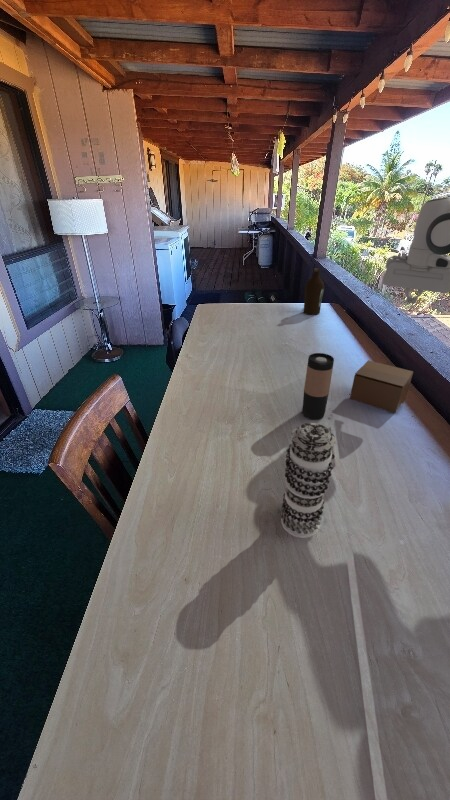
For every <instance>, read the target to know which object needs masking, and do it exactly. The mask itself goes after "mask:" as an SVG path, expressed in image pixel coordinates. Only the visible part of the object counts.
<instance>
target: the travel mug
mask: <svg viewBox="0 0 450 800" xmlns="http://www.w3.org/2000/svg"><path fill="white" fill-rule="evenodd" d="M334 364H335V357H333V356H332V355H331V354H328V353H323V352H315V353H310V355H309V356H308V360H307V365H306V373H305V380H304V386H303V387H304V388H303V397H302V409H301V413H302V415H303V417H305V418H306V419H309V420H312V421H317V420H318V421H319V420H321V419H324V417H325V414H326V409H327V404H328V399H329V395H330V389H331V383H332V376H333V368H334Z"/></svg>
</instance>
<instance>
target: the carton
mask: <svg viewBox="0 0 450 800" xmlns="http://www.w3.org/2000/svg"><path fill="white" fill-rule="evenodd" d="M413 375H414V372H413V373H412V375H411V376H410V378H409V379H407V378H403V377H400V376H396V375H392V374H388V373H384V372H380V371H377V370H373V369H369V368H365V367H362V366H361V367H360V368H359V369H358V370H357V371H356V372H355V373H354V376H353V381H352V385H351V391H350V396H349V400H352V401H356V402H358V403H362V404H365V405H368V406H370V407H371V406H372V407H373V408H374V407H375V408H377V409H380V410H384V411H388V412H391V413H393V414H396V413H397V411H398V410H399V409H400V407H401V405H403V404H404V403H405V401H406V399H407V395H408V392H409V388H410V385H411V382H412V378H413Z"/></svg>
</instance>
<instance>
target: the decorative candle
mask: <svg viewBox="0 0 450 800" xmlns="http://www.w3.org/2000/svg"><path fill="white" fill-rule="evenodd" d="M336 442H337V439H336V436H335V435H334V433H333V432H332V431H331V430H329V428H327V427H326V426H324V425H323V424H320V423H316V422H306V423H304V424H301V425H299V426H297V427H295V428H294V429H293V430H292V431H291V443H289V445H288V448H287V449H286V451H285V452H286V455H285V458H286V459H285V473H284V477H285V483H284V484H285V486H286V488H285V492H284V493H283V496H282V497H283V498H282V505H281V514H280V523H281V526H282V528H283V529H284V530H285V531H286V532H287V533H288V534H289V535H291V536H293V537H294V538H300V539H306V538H312V537H313V536H315V535H316V534H317V533H318V531H319V529H320V527H321V526H320V525H321V522H320V521H321V520H323V519H322V517H321V516H322V515H323V511H324V510H323V509H324V507H325V506H324V504H325V502H324V499H325V498H324V495H325V494H326V492H327V490H328V489H329V487H328V484H330V482H331V481H330V477H332V475H333V474H332V470H334V466H333V461H332V460H334V459H335V458H336V456H335V454H334V453H333V448H334V446H335V445H336Z"/></svg>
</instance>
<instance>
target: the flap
mask: <svg viewBox="0 0 450 800" xmlns="http://www.w3.org/2000/svg"><path fill="white" fill-rule="evenodd" d="M361 367H365V368H369V369H373V370H377V371H380V372H384V373H388V374H392V375H396V376H400V377H403V378H407V379H409V378H410V376H411V375H412V373H413V374H414V371H413V370H408V369H405V368H401V367H397V366H393V365H390V364H384V363H381V362H377V361H373V360H367V361H365V363H364V364H363V365H362V366H361ZM412 376H413V375H412Z"/></svg>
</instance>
